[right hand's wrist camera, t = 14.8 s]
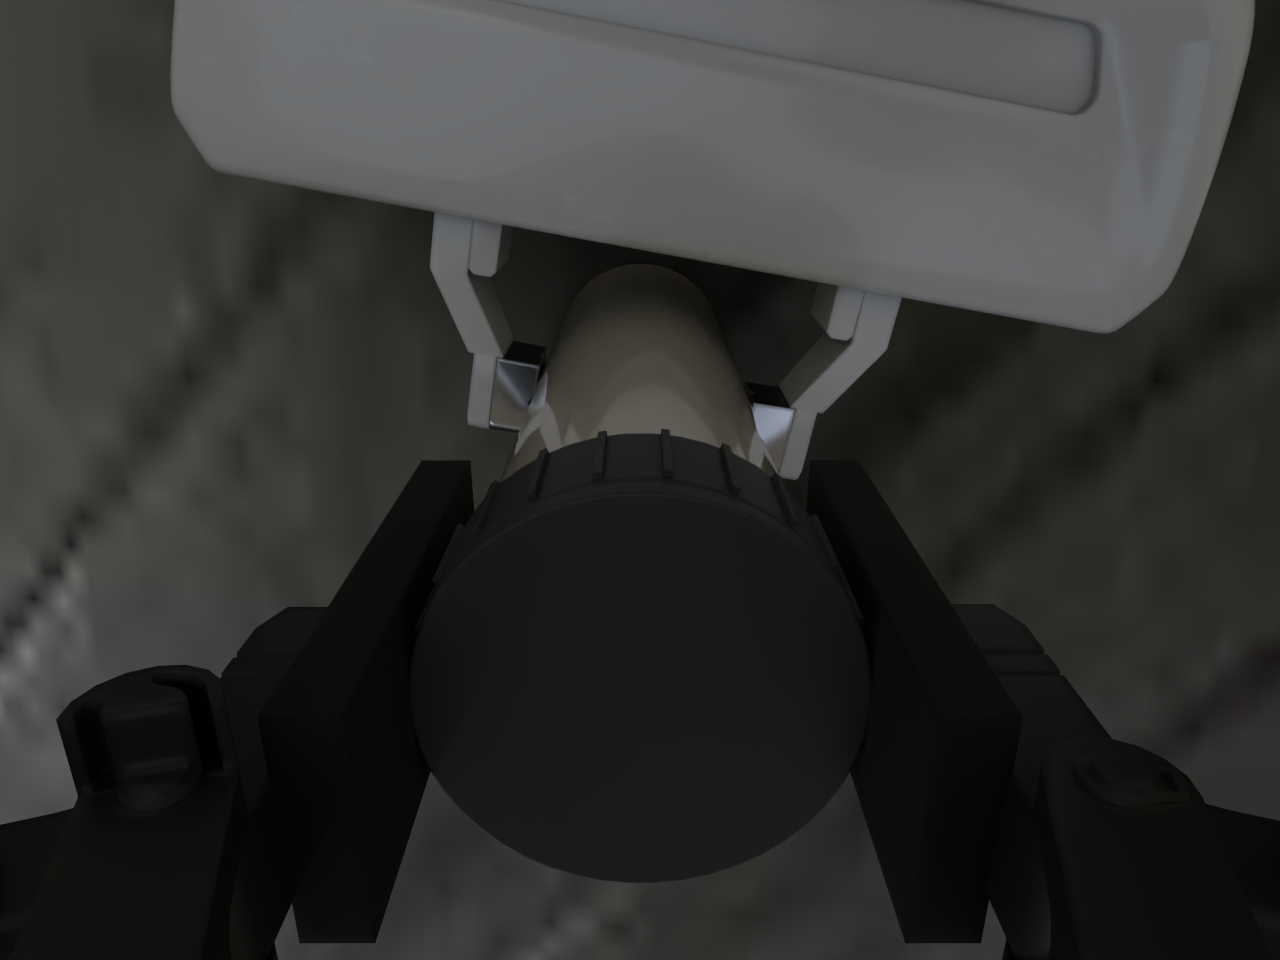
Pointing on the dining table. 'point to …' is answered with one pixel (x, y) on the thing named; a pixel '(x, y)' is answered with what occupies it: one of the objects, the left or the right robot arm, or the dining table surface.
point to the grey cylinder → (640, 371)
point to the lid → (640, 661)
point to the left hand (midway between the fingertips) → (635, 446)
